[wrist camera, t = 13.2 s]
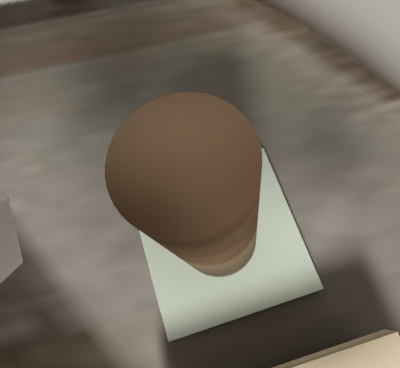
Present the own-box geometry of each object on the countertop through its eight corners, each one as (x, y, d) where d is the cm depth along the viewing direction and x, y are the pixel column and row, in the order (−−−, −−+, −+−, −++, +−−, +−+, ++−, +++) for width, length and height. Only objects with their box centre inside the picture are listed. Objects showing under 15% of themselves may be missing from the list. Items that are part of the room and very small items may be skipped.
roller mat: (132, 197, 23) (129, 195, 23) (263, 151, 23) (263, 148, 23) (170, 341, 20) (168, 341, 20) (322, 289, 20) (323, 288, 19)
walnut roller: (173, 216, 22) (91, 121, 11) (240, 193, 22) (230, 71, 11) (194, 287, 20) (124, 262, 9) (267, 262, 20) (288, 207, 9)
